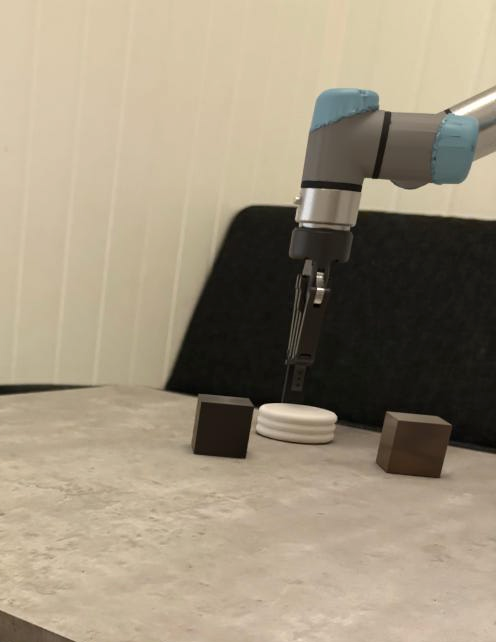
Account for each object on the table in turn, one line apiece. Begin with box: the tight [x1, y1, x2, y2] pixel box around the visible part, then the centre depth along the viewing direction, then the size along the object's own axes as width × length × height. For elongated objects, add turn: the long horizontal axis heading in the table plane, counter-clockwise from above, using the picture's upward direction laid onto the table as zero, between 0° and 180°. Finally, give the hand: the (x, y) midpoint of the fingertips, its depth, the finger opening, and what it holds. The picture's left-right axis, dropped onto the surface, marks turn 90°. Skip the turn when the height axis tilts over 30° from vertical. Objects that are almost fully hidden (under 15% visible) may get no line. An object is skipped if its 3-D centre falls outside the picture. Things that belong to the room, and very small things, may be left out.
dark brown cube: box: [191, 393, 255, 460], centre depth 119 cm, size 6×6×6 cm
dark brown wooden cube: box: [375, 411, 453, 479], centre depth 117 cm, size 6×6×6 cm
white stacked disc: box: [255, 402, 338, 445], centre depth 132 cm, size 10×10×4 cm
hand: (290, 414), depth 137 cm, fingers closed
